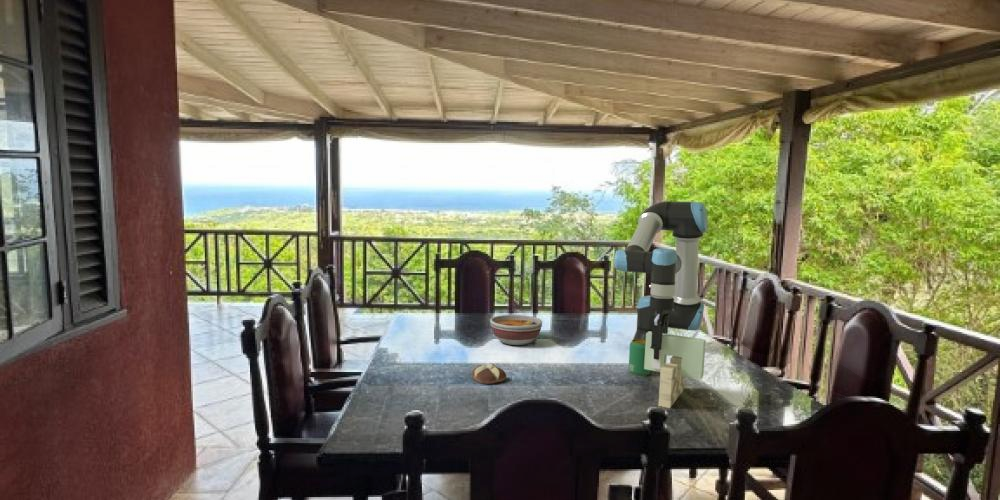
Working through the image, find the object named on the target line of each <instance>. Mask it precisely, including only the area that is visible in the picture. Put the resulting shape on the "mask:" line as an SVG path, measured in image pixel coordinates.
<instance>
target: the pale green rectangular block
mask: <svg viewBox="0 0 1000 500" xmlns="http://www.w3.org/2000/svg"><path fill="white" fill-rule="evenodd" d="M651 341H652V332H650V331H649V332H647V333H646V344H645V361H644V369H647V370H651V371H654V372H659V373H660V371H661V369H655V368H652V356H653V349H651V348H650V347H651ZM706 341H707V340H706V339H704V338H703V339H702V338H696V337H690V336H683V335H676V334H670V333H668V334H664V333H662V343H661V349H662V356H661V368H662V367H663V366H664V365H665V364H666V363H667V356H671V357H672V356H677V357H682V362H681V376H685V377H686V378H692V379H695V380H696V379H698V380H702V379H704V378H703V377H704V370H705V356H706Z"/></svg>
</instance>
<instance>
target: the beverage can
mask: <svg viewBox="0 0 1000 500" xmlns="http://www.w3.org/2000/svg"><path fill="white" fill-rule="evenodd" d="M645 344H646V340H644V339H633V338H632V340H631V342H630V343H629V353H628V355H629V356H628V371H629V373H630V374H631V375H634V376H637V377H638V376H639V377H647V375H648V376H649V375H650V374H651V371H652V370H647V369H644V361H645Z"/></svg>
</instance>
